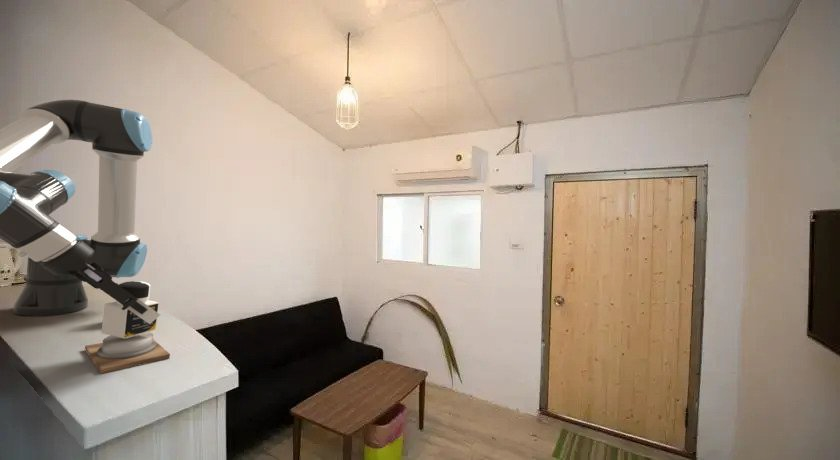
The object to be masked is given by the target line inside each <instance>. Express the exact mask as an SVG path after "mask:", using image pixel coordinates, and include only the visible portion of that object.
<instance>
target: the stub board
mask: <svg viewBox="0 0 840 460" xmlns="http://www.w3.org/2000/svg"><path fill="white" fill-rule="evenodd" d="M85 349H86V351H87V352H88V354H89V355H88V354H87V355H88V357H89V356H90V357H91V358H90V357H89V358H90V360H91V359H92V360H91V362H92V363H93V364H94V366H95V367H96V369H97V370H98V372H99V374H104V373H105V374H106V373H109V372H114V371H118V370H123V368H124V369H126V368H132V367H136V366H135V365H137V366H140V365H139V364H141V365H145V364H144V363H146V364H150V363H154V362H158V361H164V360H168V359H170V358H171V354H170V352H169V351H167V350H166V349H165V348H164V347H163V346H162V345H160V344H159V343H158V342H157V341H156V340H155V339H154V333H152V332H151V331H150V332H146V333H143V334H139V335H136V336H132V337H129V338H126V339H124V338H120V337H115V336H111V335H107V336H106V337H105V338H103V340H102V342H100V343H98V342H97V343H92V344H88V345H85V346H84V350H85ZM86 351H85V352H86ZM87 352H86V353H87ZM131 366H132V367H131Z"/></svg>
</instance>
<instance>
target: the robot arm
mask: <svg viewBox="0 0 840 460" xmlns="http://www.w3.org/2000/svg"><path fill="white" fill-rule="evenodd" d="M152 133H153V132H152V128H151V126H150V123H149V121H148V119H147V118H146V116H144V115H143V114H142V113H140V112H136V111H133V110H129V109H127V108H119V107H115V106H111V105H110V106H109V105H104V104H100V103H99V104H98V103H94V102H89V101H86V100H79V99H60V100H59V99H58V100H55V101H54V100H51V101H47V102H44V103H40V104H36V105H33V106H32V107H29V108H26V109H24V110H23V111H21V112H20V113H19V114H18V120H15V121H13V122H11V123H10V124H7V125H6V126H4V127H2V128H1V129H0V240H2V241H3V242H5V243H7V244H9V245H10V246H11V247H12V248H14V249H16V250H17V251H19V252H18V253H17V255H18V256H19V257H25V256H27V265H26V275H25V276H26V277H25V278H26V279H25V285H24V287H23V289H22V290H21V293H20V294H19V295H18V297H17V299H16V301H15V302H14V304H13V310H12V312H13V314H15V315H17V316H28V317H29V316H32V317H34V316H35V317H37V316H41V317H42V316H53V315H62V314H69V313H74V312H78V311H81V310H84V309H87V308H88V306H89V298H88V295H87V293H86V290H85V287H84V285H83V283H87V284H88V285H89V286H90V287H93V289H96V290H98V289H99V290H101V291H102V292H104V293H105V294H107V295H108V296H110V297H111V298H112V299H113V300H115V302H116V301H118V302H119V303H121V304H122V305H123V306H124V307H123V308H121V309H122V310H125V309H129V310H130V311H131V312H133V313H134V314H136V315H137V316H139V317H140V318H142V319H143V320H144V321H146V322H147V323H149V324H151V323H152V322H153V321H154V320H155V319H156V318H157V319H158V318H159V317H160V316H161V314H160V313H159V312H158V311H157V312H156V311H154V310H153V309H152V308H150V307H149V306H148V305H146V304H145V303H144V302H142V301H141V300H139V299H138V298H137V297H135V296H133V295H131V294H130V293H129V292H127V291H126V290H124V289H123V288H122V287H120V286H119V283H118V282H117V283H116V282H115V281H114V280H113V278H116V279H119V278H133V277H135V276H136V275H138V274H139V273H140V271H141V270H142V268H143V266H144V264H145V261H146V258H147V253H148V247H147V246H148V245H147V244H146V243H144V242H141V237H140V235H138V234H137V233H136V232H135V223H136V222H135V219H136V195H137V193H136V192H137V171H138V161H139V160H140V159H142V158H144V156H145V154H144V153H147V152H149V151H150V150H151V149H152V144H153V135H152ZM67 140H68V141H70V140H71V141H80V142H86V143H91V145H92V147H91V148H92V151H93V152H95V153H96V155H98V158H99V159H98V165H99V166H98V206H97V207H98V208H97V232H95V233H94V234H93V235H91V237H90V239H88V236H87V235H86V234H75V233H73V232H71V230H69V229H68V228H67V227H65V226H64V225H62V223H59V222H57V220H55V219H54V218H52V217H51V216H50V214H52V213H54V212H55V211H57V209H59V208H61V207H62V206H64V205H65V204H67V203H68V202H69V200H70V199H71V198H72V197H73V196H75V193H76V185H75V183H74V181H72V179H71V177H69V176H68V175H66V174H64V173H62V172H60V171H57V170H53V169H42V170H41V169H40V170H37V171H34V172H31V173H29V174H26V173H19V172H14V171H15V170H18V169H19V168H20V167H21V166H23V165H24V164H26V163H27V162H29V161H30V160H31V159H33V158H35V157H36V156H37V155H39V154H40V153H41V152H43V151H44V150H47V148H49V147H51V146H52V145H54V144H55V145H57V144H62V143H64V142H66V141H67ZM129 298H130V299H129ZM128 299H129V300H128ZM125 301H126V302H125Z"/></svg>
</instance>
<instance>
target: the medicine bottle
mask: <svg viewBox="0 0 840 460" xmlns="http://www.w3.org/2000/svg"><path fill="white" fill-rule="evenodd" d="M118 285H119V286H120V287H122V288H123V289H124V290H126V291H127V292H129V293H130V294H131V295H133V296H135V297H137V298H138V299H139V300H141V301H142V302H144V303H145V304H146V305H148V306H149V307H150V308H152V309H153V310H154V311H156V312H157V313H158V310H159V302H158V301H154V300H150V295H151V283H148V282H147V281H142V280H141V281H140V280H138V281H136V280H135V281H124V282H121V283H118ZM129 299H130V298H129ZM129 299H128V300H129ZM125 302H126V301H125ZM123 307H124V306H123V305H122V304H121V303H119V302H118V301H116V300H115V301H111V302H107V303H104V306H103V315H102V325H101V333H102V334H103V335H107V336H115V337H120V338H124V339H126V338H129V337H132V336H136V335H139V334H143V333H146V332H150V333H151V332H152V331H155V330H156V328H157V319H158V318H156V319H155V320H154V321H153V322H152V323H151V324H149V323H147V322H146V321H144V320H143V319H142V318H140V317H139V316H137V315H136V314H134V313H133V312H131V311H130V310H129V309H125V310H122V309H121V308H123Z"/></svg>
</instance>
